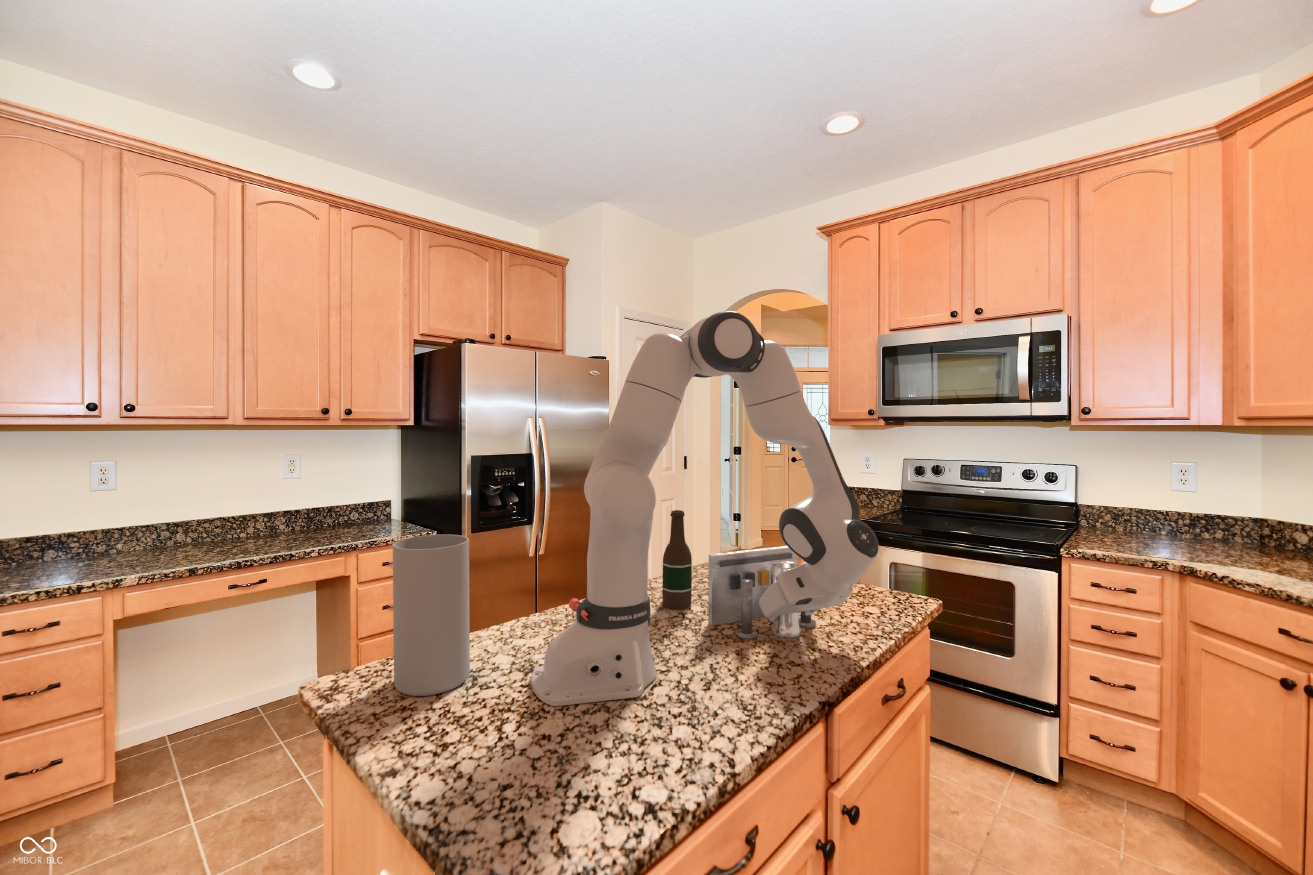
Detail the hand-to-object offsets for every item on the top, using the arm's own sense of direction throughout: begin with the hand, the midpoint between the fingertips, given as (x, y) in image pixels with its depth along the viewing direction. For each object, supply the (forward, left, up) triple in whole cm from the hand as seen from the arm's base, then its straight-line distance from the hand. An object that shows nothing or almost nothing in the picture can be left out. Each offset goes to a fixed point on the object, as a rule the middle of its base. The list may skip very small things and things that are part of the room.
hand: (789, 614), depth 118 cm
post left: (-8, +4, -5) cm, 10 cm away
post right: (+8, +4, -5) cm, 10 cm away
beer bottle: (-13, +28, -5) cm, 32 cm away
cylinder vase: (-71, +9, -5) cm, 72 cm away
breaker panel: (0, +13, -5) cm, 14 cm away
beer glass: (+1, +2, -5) cm, 6 cm away
